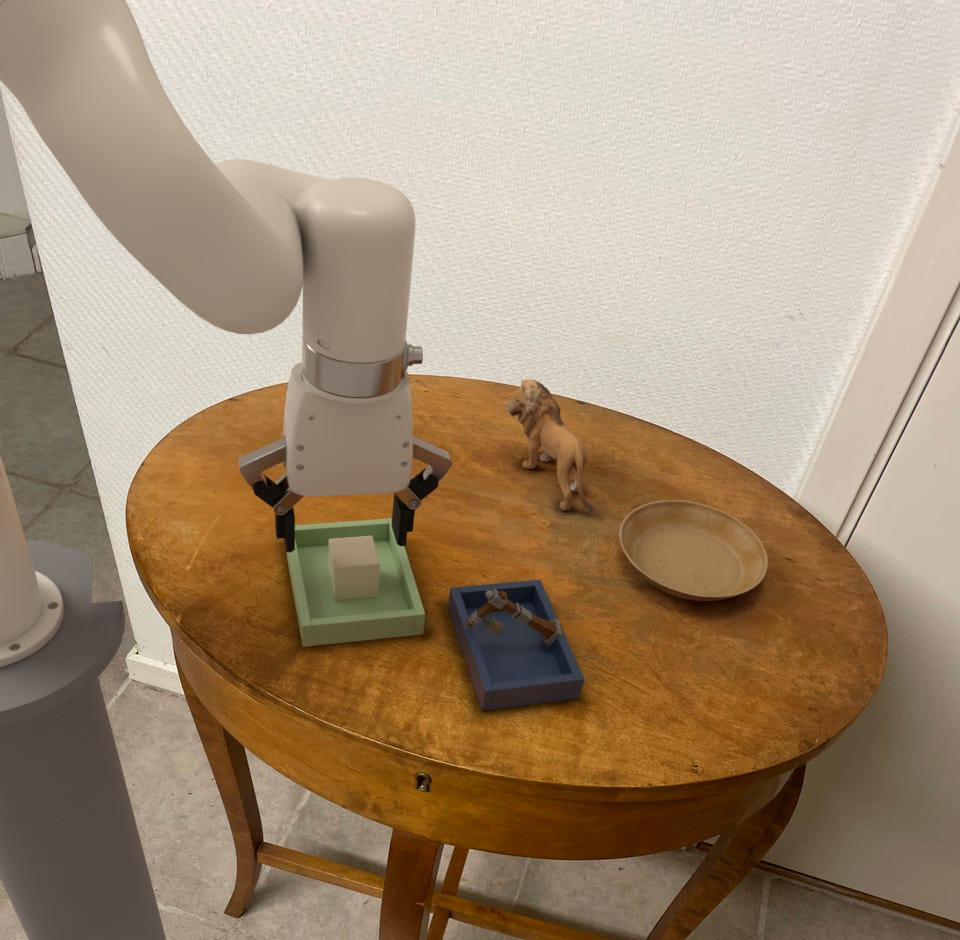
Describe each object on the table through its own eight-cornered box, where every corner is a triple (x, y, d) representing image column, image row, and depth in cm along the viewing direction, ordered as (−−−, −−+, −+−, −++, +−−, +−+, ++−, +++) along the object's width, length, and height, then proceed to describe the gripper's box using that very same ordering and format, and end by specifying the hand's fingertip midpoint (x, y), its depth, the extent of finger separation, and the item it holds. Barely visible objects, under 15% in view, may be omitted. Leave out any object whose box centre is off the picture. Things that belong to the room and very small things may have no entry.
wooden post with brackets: (457, 611, 81) (491, 579, 79) (525, 648, 85) (560, 617, 83) (459, 626, 80) (494, 593, 77) (528, 662, 84) (563, 632, 82)
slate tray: (481, 711, 78) (485, 691, 76) (447, 607, 87) (449, 587, 85) (579, 699, 80) (584, 679, 79) (536, 599, 89) (540, 579, 87)
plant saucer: (790, 594, 93) (799, 574, 91) (669, 632, 87) (676, 611, 86) (701, 508, 102) (708, 488, 100) (586, 537, 96) (591, 516, 94)
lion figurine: (491, 450, 105) (501, 378, 99) (529, 439, 108) (541, 367, 102) (574, 523, 98) (590, 450, 91) (612, 509, 100) (631, 436, 94)
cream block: (334, 601, 85) (334, 567, 82) (328, 572, 87) (328, 538, 85) (379, 597, 86) (380, 563, 83) (371, 568, 88) (372, 535, 86)
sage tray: (302, 647, 81) (301, 626, 79) (285, 546, 90) (284, 525, 88) (423, 634, 84) (425, 614, 82) (394, 537, 93) (395, 517, 91)
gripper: (453, 337, 76) (431, 508, 88) (230, 335, 71) (239, 517, 83) (476, 386, 71) (449, 561, 83) (238, 388, 66) (246, 573, 78)
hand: (344, 539), depth 83 cm, fingers open, 9 cm apart
